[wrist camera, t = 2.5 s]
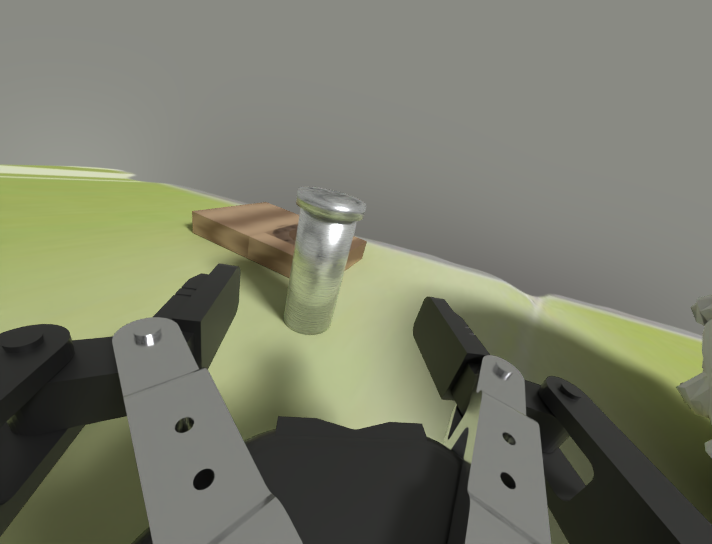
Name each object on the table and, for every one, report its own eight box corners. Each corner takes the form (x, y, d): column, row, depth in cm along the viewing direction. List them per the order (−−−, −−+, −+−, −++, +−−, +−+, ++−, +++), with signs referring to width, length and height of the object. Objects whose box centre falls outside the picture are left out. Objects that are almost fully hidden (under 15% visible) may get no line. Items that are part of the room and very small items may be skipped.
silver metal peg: (266, 319, 24) (283, 187, 19) (300, 296, 29) (321, 185, 24) (316, 346, 23) (349, 211, 17) (343, 317, 27) (375, 204, 22)
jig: (192, 232, 36) (192, 211, 34) (264, 218, 48) (265, 202, 47) (317, 291, 30) (322, 268, 29) (361, 258, 43) (366, 241, 41)
